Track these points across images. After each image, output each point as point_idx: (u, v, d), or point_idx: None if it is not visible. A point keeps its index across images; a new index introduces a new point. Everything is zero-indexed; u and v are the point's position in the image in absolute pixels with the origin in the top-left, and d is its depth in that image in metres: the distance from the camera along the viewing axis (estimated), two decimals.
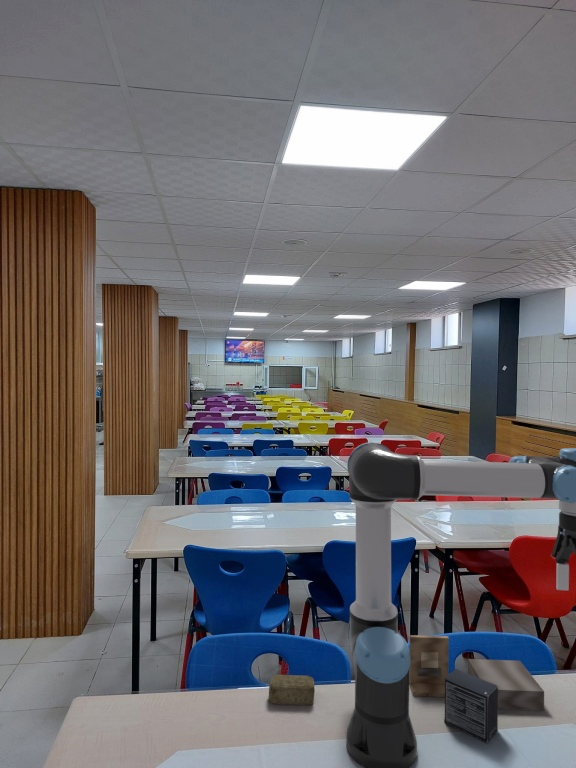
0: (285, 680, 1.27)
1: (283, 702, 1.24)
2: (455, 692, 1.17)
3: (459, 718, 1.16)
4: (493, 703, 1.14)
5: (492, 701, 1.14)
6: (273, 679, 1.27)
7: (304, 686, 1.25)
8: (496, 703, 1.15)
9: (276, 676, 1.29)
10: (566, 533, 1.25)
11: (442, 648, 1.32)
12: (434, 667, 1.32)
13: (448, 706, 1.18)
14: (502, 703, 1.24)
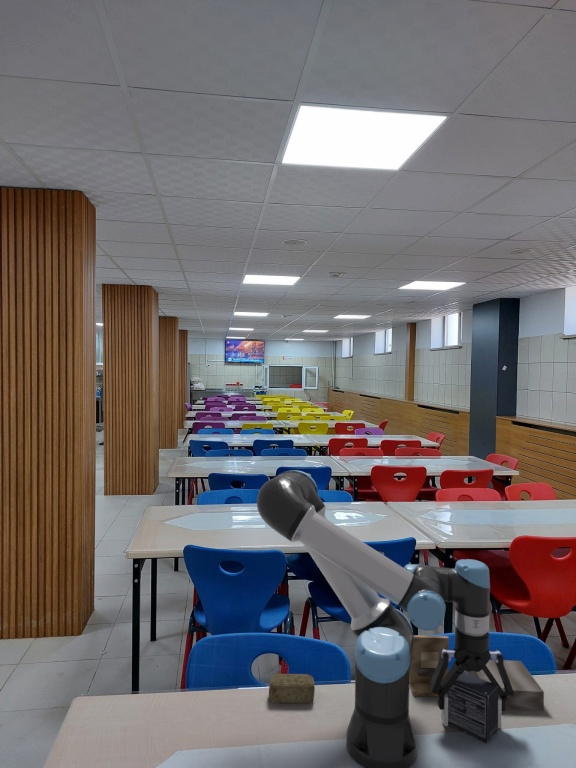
0: (285, 678, 1.27)
1: (283, 701, 1.25)
2: (455, 692, 1.17)
3: (460, 718, 1.16)
4: (494, 703, 1.14)
5: (492, 700, 1.14)
6: (273, 678, 1.28)
7: (304, 684, 1.25)
8: (496, 702, 1.15)
9: (276, 675, 1.29)
10: None
11: None
12: (434, 667, 1.32)
13: (448, 706, 1.18)
14: None
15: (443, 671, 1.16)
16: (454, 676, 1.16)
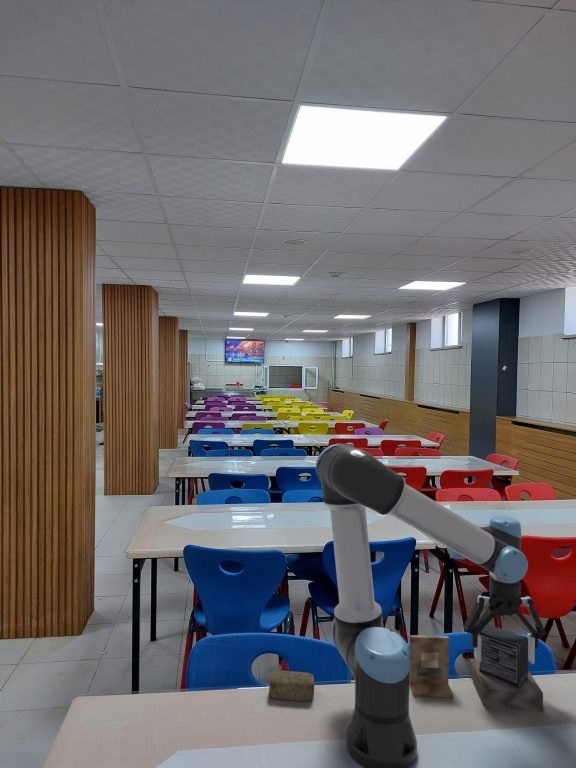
0: (286, 676, 1.29)
1: (282, 697, 1.26)
2: (489, 643, 1.31)
3: (493, 666, 1.30)
4: (524, 653, 1.28)
5: (523, 650, 1.27)
6: (274, 674, 1.29)
7: (303, 682, 1.26)
8: (527, 653, 1.29)
9: (277, 672, 1.31)
10: None
11: (442, 648, 1.32)
12: (434, 667, 1.32)
13: (483, 656, 1.32)
14: (500, 703, 1.24)
15: (478, 614, 1.30)
16: (488, 618, 1.30)
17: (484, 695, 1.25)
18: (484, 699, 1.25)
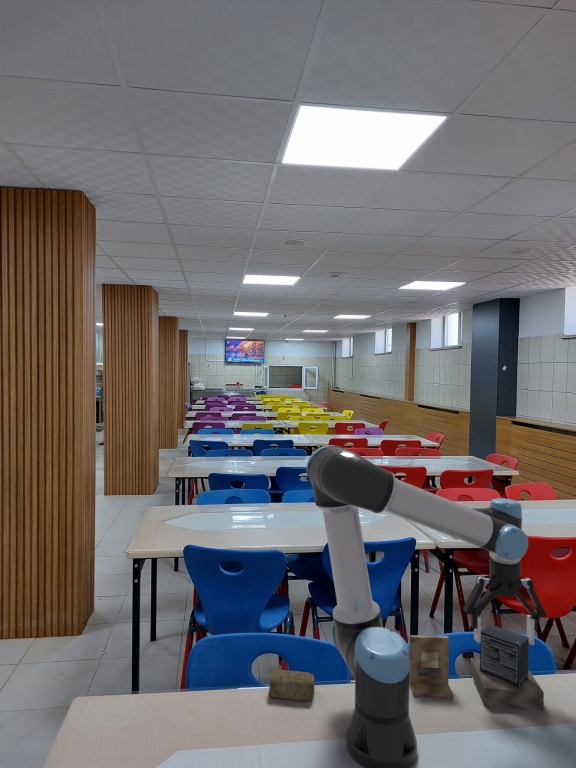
0: (286, 675, 1.29)
1: (282, 696, 1.26)
2: (489, 643, 1.31)
3: (493, 665, 1.30)
4: (525, 652, 1.28)
5: (523, 650, 1.27)
6: (274, 673, 1.30)
7: (303, 682, 1.26)
8: (527, 652, 1.29)
9: (277, 671, 1.31)
10: None
11: (442, 648, 1.32)
12: (434, 667, 1.32)
13: (483, 655, 1.32)
14: (501, 702, 1.25)
15: (478, 595, 1.30)
16: (488, 599, 1.30)
17: (485, 694, 1.25)
18: (485, 698, 1.25)
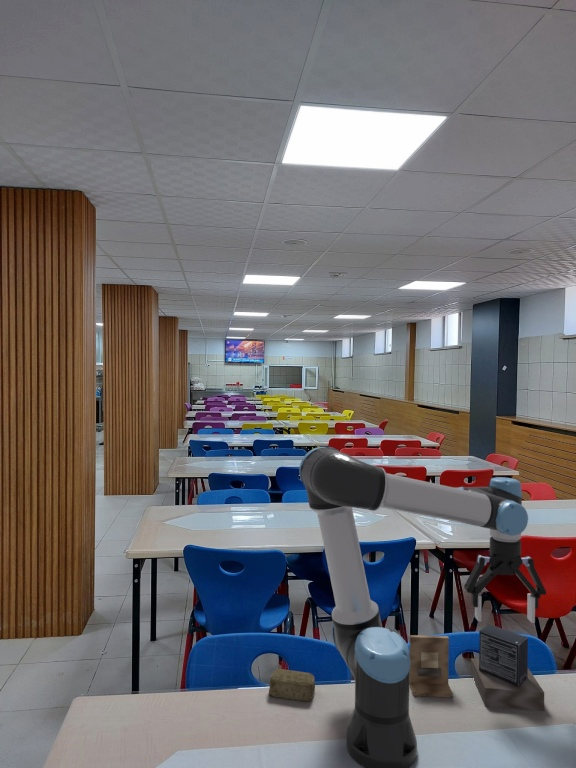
0: (286, 674, 1.29)
1: (282, 696, 1.27)
2: (488, 643, 1.31)
3: (493, 665, 1.30)
4: (524, 652, 1.28)
5: (523, 649, 1.27)
6: (274, 672, 1.30)
7: (302, 682, 1.26)
8: (526, 652, 1.29)
9: (278, 670, 1.32)
10: None
11: (442, 648, 1.32)
12: (434, 667, 1.32)
13: (482, 655, 1.32)
14: (501, 702, 1.25)
15: (478, 573, 1.30)
16: (488, 578, 1.30)
17: (485, 694, 1.25)
18: (485, 698, 1.25)
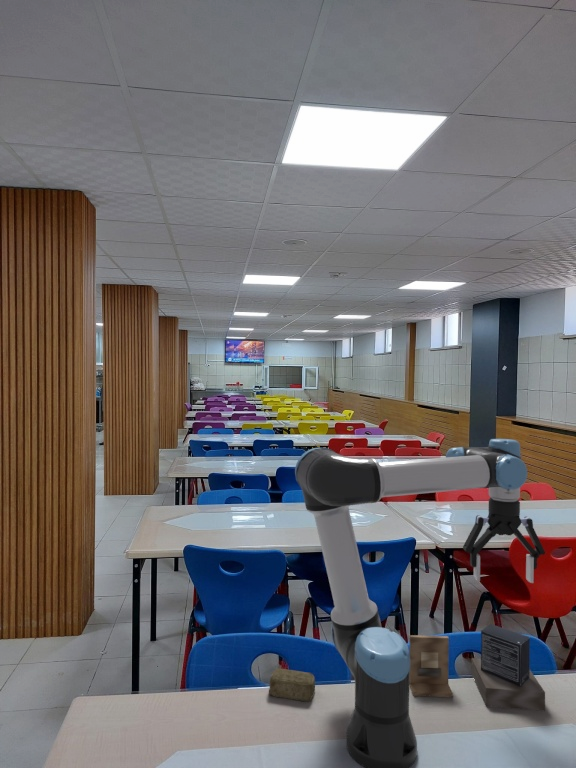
0: (286, 674, 1.29)
1: (282, 695, 1.27)
2: (490, 642, 1.31)
3: (495, 665, 1.30)
4: (526, 652, 1.28)
5: (524, 649, 1.27)
6: (275, 672, 1.31)
7: (302, 682, 1.26)
8: (528, 652, 1.29)
9: (279, 669, 1.32)
10: None
11: (442, 648, 1.32)
12: (434, 667, 1.32)
13: (484, 655, 1.32)
14: (502, 702, 1.25)
15: (477, 533, 1.30)
16: (487, 538, 1.30)
17: (486, 694, 1.25)
18: (486, 698, 1.25)
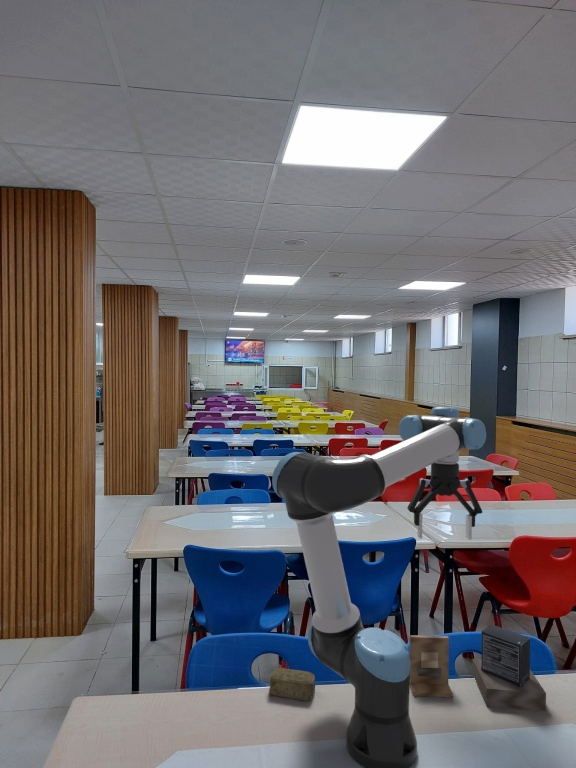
0: (286, 673, 1.30)
1: (282, 695, 1.27)
2: (491, 643, 1.31)
3: (495, 665, 1.30)
4: (526, 652, 1.28)
5: (525, 650, 1.27)
6: (275, 671, 1.31)
7: (302, 681, 1.27)
8: (528, 652, 1.29)
9: (279, 669, 1.32)
10: None
11: (442, 648, 1.32)
12: (434, 667, 1.32)
13: (485, 655, 1.32)
14: (503, 703, 1.24)
15: (420, 494, 1.41)
16: (429, 498, 1.41)
17: (487, 695, 1.25)
18: (487, 699, 1.25)
